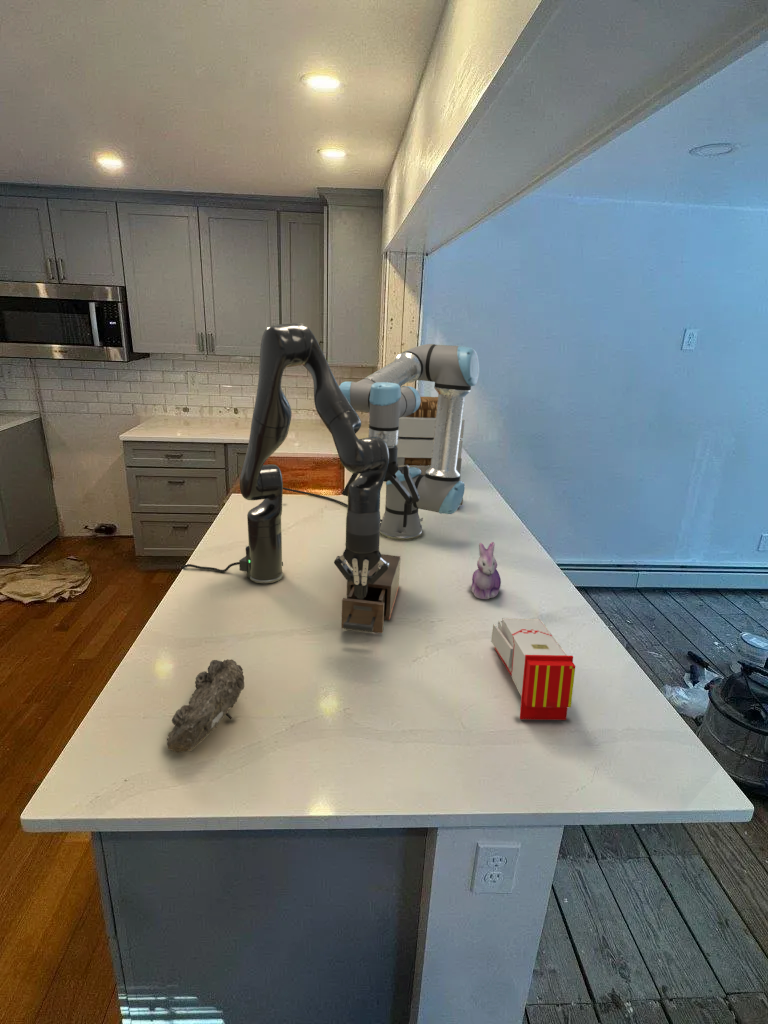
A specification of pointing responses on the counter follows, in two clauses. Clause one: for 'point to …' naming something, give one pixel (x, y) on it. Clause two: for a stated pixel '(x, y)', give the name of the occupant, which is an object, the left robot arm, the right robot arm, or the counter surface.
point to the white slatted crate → (420, 435)
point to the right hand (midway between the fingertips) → (379, 523)
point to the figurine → (486, 574)
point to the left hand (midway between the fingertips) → (360, 597)
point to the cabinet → (385, 582)
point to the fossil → (206, 705)
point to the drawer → (365, 611)
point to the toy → (535, 667)
